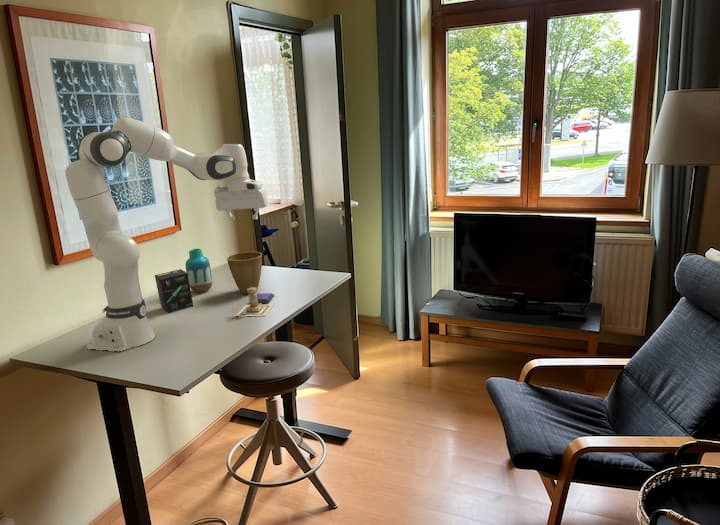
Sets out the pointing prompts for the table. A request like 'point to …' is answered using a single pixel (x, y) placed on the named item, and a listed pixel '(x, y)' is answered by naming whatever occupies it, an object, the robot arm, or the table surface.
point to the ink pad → (264, 297)
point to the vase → (198, 271)
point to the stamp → (253, 301)
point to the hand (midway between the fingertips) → (244, 220)
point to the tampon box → (174, 290)
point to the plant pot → (246, 269)
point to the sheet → (262, 313)
